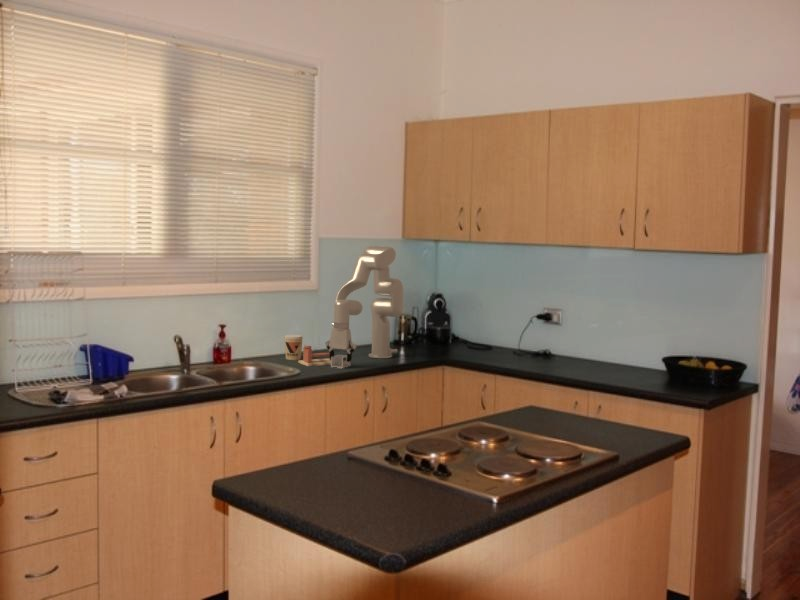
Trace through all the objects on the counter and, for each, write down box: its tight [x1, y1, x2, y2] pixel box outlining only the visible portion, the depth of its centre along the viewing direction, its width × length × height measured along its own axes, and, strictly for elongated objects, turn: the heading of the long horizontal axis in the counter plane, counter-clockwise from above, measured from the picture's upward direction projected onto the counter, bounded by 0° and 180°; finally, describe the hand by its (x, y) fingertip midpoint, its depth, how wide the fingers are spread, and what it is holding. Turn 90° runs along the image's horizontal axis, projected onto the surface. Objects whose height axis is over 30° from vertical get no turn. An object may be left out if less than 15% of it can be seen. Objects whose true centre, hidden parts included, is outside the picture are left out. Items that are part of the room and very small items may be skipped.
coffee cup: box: [284, 334, 304, 361], centre depth 430 cm, size 9×9×12 cm
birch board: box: [297, 357, 331, 367], centre depth 421 cm, size 23×12×1 cm, turn 120°
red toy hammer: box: [302, 345, 330, 363], centre depth 419 cm, size 14×6×8 cm, turn 120°
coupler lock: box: [330, 354, 352, 369], centre depth 412 cm, size 8×7×5 cm
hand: (340, 360), depth 411 cm, fingers open, 9 cm apart
